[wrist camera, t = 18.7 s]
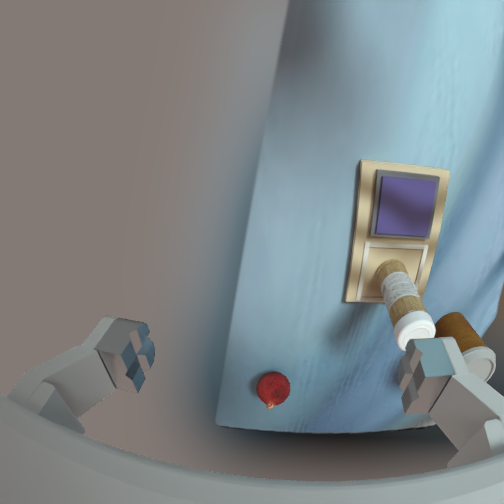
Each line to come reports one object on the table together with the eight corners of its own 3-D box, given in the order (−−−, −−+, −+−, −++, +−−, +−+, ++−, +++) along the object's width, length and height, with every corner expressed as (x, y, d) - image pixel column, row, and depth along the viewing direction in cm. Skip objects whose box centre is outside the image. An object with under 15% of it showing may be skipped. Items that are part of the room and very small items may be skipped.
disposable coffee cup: (419, 320, 45) (439, 375, 34) (468, 295, 41) (497, 344, 31) (430, 353, 48) (447, 405, 37) (474, 331, 44) (498, 379, 34)
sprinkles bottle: (400, 287, 41) (426, 354, 29) (371, 284, 41) (391, 353, 30) (409, 259, 39) (443, 323, 27) (380, 255, 39) (406, 320, 27)
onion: (274, 358, 52) (269, 393, 45) (298, 372, 53) (295, 408, 46) (253, 372, 55) (246, 406, 48) (277, 386, 56) (272, 420, 49)
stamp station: (360, 159, 35) (364, 163, 33) (446, 169, 33) (454, 173, 31) (345, 296, 44) (346, 306, 42) (418, 298, 43) (423, 307, 41)
